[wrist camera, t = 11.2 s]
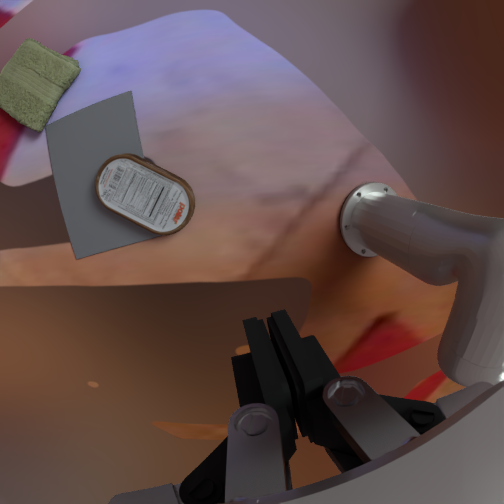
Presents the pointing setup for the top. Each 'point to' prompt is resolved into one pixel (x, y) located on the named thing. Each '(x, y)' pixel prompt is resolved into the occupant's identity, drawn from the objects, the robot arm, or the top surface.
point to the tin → (145, 194)
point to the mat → (93, 172)
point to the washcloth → (35, 83)
